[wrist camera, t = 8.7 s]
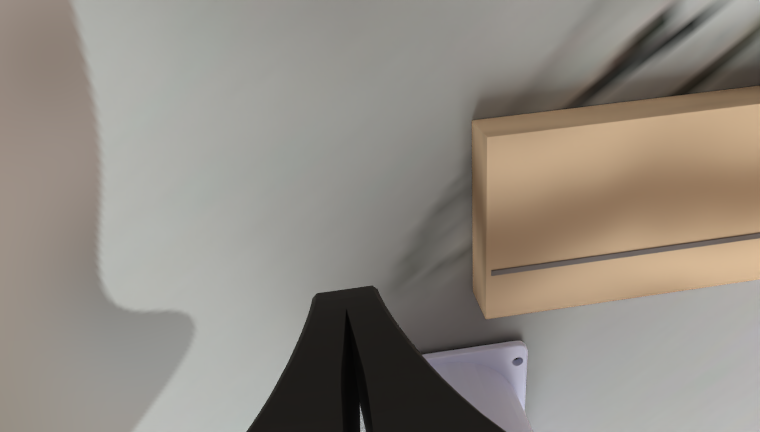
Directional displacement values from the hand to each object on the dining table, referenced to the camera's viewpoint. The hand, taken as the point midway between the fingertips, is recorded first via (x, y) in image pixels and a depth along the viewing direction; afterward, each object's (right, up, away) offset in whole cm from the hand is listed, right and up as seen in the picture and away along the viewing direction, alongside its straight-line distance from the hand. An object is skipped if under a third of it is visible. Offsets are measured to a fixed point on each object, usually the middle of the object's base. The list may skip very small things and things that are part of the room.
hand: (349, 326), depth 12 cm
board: (+15, +4, +11) cm, 19 cm away
